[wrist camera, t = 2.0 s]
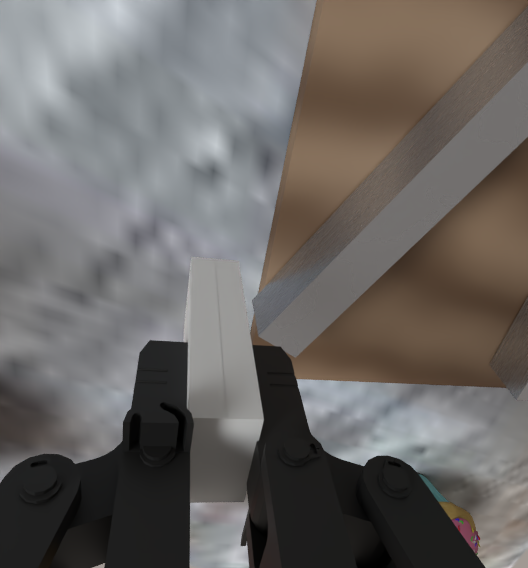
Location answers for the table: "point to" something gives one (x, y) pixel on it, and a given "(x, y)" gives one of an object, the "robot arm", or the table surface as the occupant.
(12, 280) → the table surface
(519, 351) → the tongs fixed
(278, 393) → the robot arm
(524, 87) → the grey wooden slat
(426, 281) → the board
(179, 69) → the table surface
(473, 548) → the cupcake
